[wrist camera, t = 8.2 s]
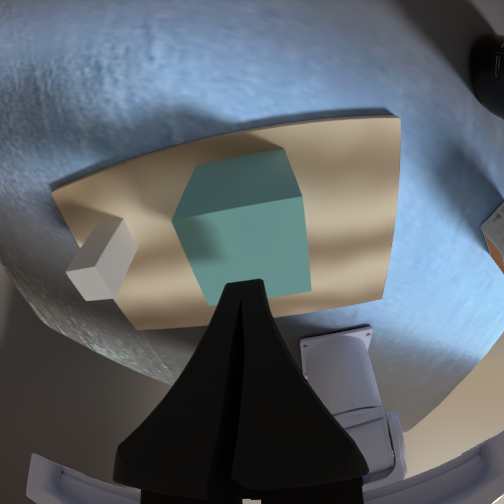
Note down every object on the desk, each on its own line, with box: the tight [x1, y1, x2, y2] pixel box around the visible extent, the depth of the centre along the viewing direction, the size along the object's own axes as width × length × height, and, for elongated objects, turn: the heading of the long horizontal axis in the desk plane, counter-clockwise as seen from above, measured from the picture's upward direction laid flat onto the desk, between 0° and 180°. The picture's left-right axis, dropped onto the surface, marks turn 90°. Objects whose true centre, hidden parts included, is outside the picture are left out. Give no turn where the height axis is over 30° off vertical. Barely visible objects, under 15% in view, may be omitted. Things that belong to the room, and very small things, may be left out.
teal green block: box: [171, 148, 312, 306], centre depth 14 cm, size 5×5×6 cm
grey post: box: [66, 219, 138, 301], centre depth 17 cm, size 3×3×5 cm
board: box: [51, 115, 401, 330], centre depth 20 cm, size 16×24×1 cm, turn 101°
